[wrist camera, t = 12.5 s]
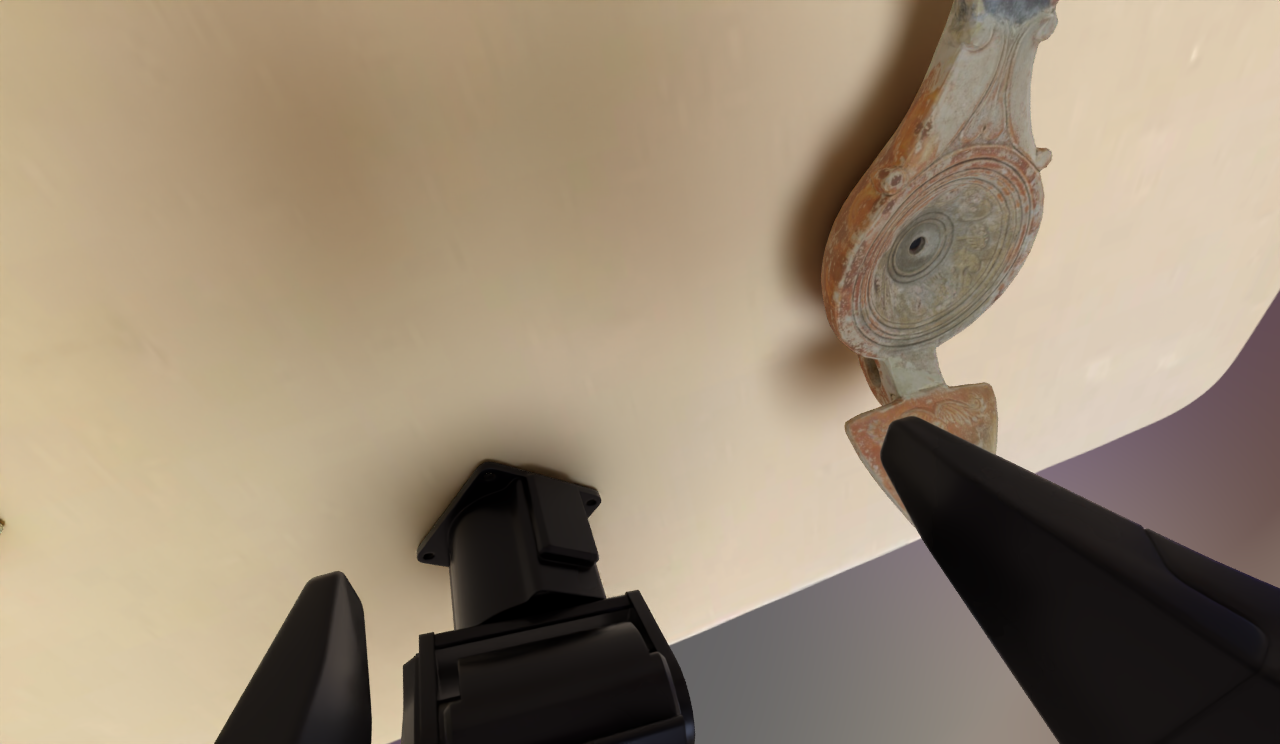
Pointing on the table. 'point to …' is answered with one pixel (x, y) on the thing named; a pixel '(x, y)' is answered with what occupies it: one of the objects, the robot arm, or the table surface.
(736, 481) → the table surface
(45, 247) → the table surface
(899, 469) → the robot arm
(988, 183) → the oil lamp
